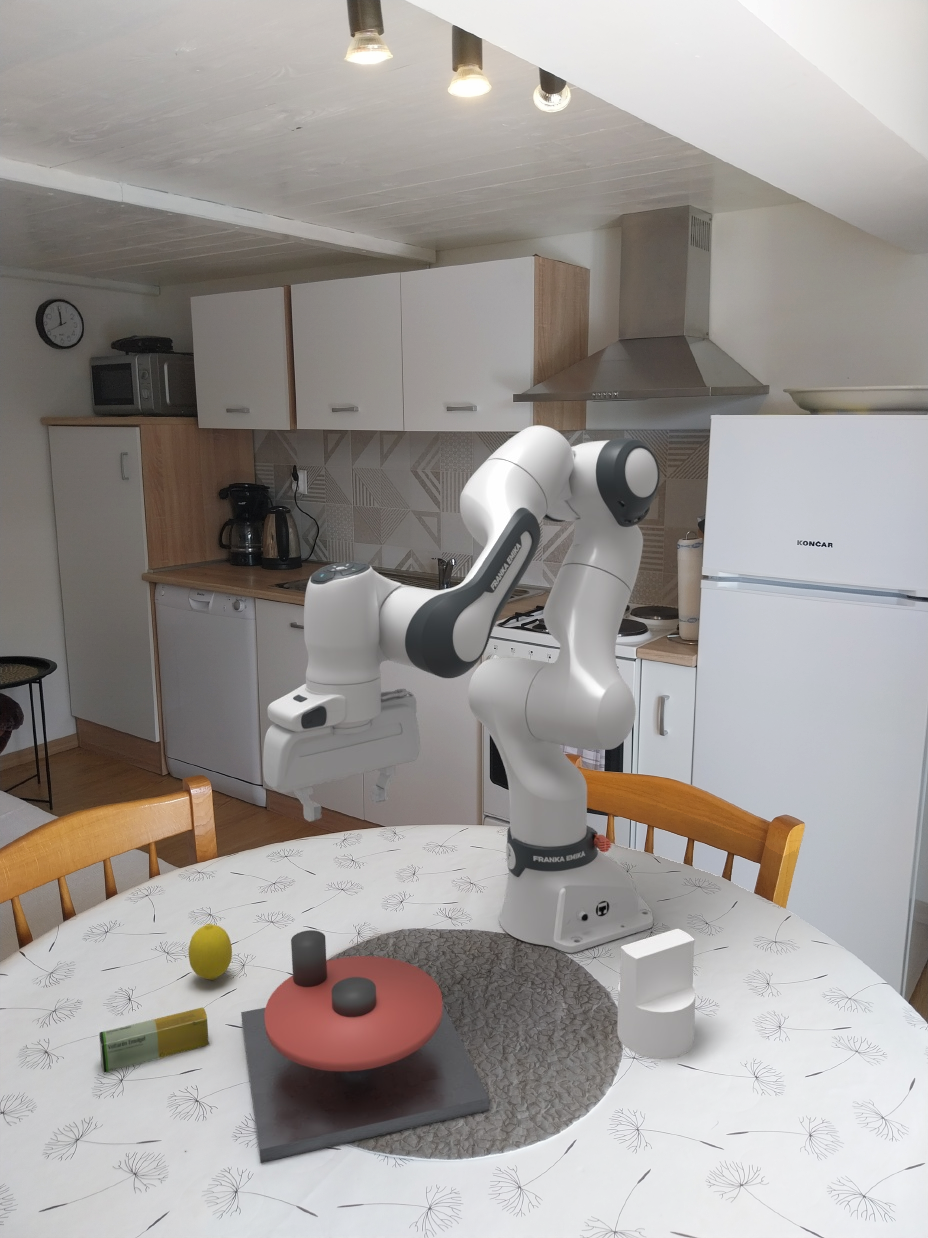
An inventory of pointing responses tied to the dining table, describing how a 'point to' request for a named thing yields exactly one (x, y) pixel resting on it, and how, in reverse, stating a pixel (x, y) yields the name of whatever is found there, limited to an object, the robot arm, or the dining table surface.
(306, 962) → the handwheel
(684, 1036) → the base with upright slab
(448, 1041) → the valve stand
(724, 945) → the dining table surface
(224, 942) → the lemon
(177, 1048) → the medication box
